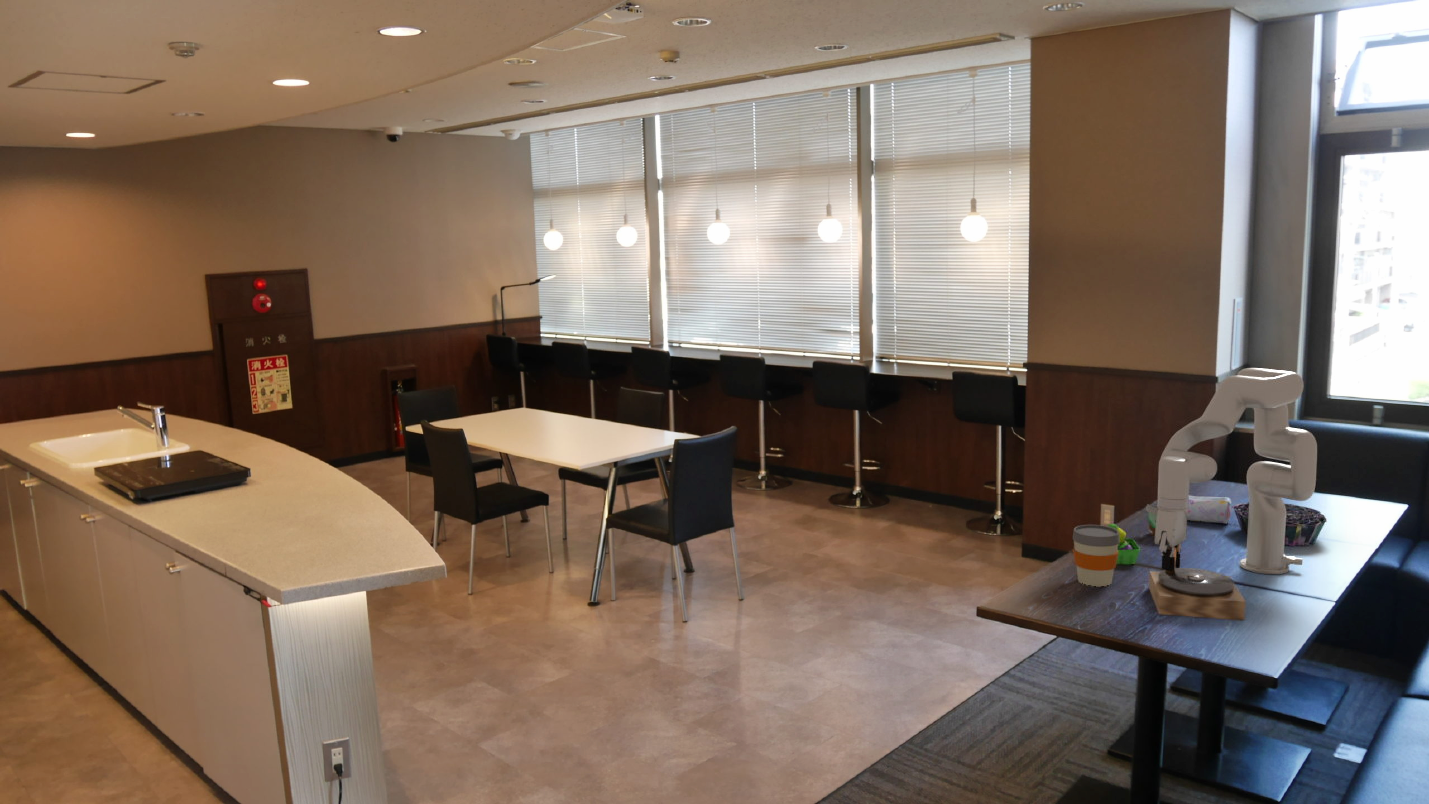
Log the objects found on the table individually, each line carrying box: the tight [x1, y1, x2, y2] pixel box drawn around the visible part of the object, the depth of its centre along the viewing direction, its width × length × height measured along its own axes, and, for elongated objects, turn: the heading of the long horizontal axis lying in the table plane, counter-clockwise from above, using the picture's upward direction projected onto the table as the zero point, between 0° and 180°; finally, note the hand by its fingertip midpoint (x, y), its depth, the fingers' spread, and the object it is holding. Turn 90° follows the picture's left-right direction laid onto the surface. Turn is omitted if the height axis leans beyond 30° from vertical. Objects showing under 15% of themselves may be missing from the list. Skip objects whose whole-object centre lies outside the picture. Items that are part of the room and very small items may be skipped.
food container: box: [1145, 503, 1187, 538], centre depth 321 cm, size 12×6×10 cm, turn 68°
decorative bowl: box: [1231, 502, 1328, 547], centre depth 318 cm, size 26×28×10 cm
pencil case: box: [1187, 494, 1232, 525], centre depth 339 cm, size 21×9×10 cm, turn 53°
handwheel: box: [1158, 547, 1235, 596], centre depth 262 cm, size 18×18×9 cm
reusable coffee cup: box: [1072, 524, 1120, 588], centre depth 281 cm, size 13×12×15 cm
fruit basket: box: [1107, 523, 1141, 565], centre depth 300 cm, size 11×9×11 cm
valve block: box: [1148, 570, 1246, 621], centre depth 263 cm, size 20×20×5 cm
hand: (1170, 568), depth 268 cm, fingers closed on handwheel, 2 cm apart
